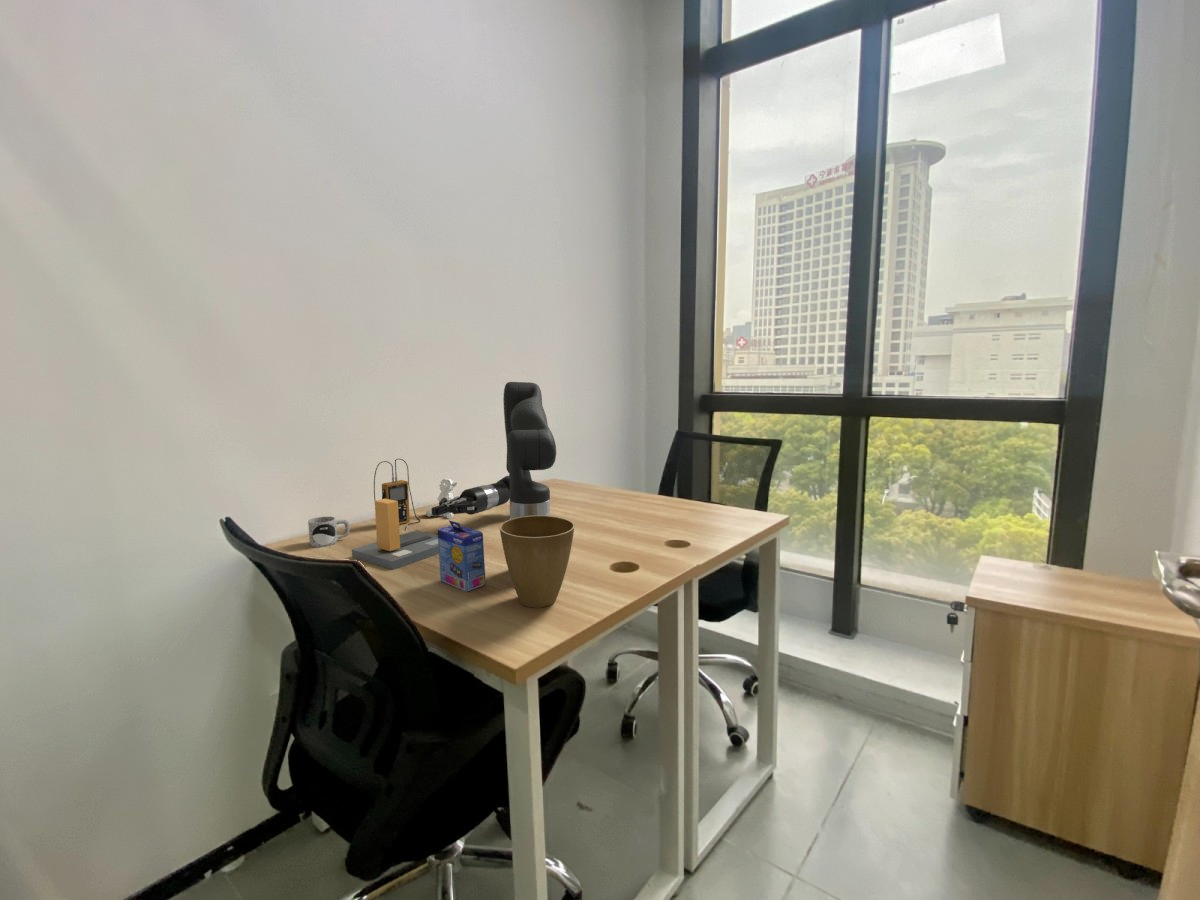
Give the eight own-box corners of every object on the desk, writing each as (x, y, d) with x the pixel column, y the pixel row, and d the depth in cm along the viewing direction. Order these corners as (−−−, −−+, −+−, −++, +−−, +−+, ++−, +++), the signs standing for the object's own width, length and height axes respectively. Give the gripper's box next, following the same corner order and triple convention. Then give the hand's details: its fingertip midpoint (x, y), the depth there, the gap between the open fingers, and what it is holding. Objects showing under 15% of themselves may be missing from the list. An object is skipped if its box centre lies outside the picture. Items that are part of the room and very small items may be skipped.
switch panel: (457, 546, 148) (456, 538, 148) (392, 569, 132) (392, 560, 131) (417, 537, 157) (416, 529, 157) (352, 557, 140) (351, 548, 140)
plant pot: (486, 604, 112) (483, 527, 110) (534, 581, 124) (533, 511, 122) (543, 623, 104) (542, 540, 102) (589, 596, 116) (589, 522, 114)
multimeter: (391, 535, 159) (387, 465, 156) (372, 529, 165) (368, 462, 162) (435, 523, 170) (432, 459, 167) (415, 518, 176) (412, 455, 173)
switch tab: (400, 547, 140) (397, 501, 138) (390, 551, 137) (387, 503, 135) (387, 544, 142) (385, 498, 141) (377, 547, 140) (374, 500, 138)
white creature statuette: (425, 516, 178) (423, 480, 176) (440, 510, 186) (439, 475, 185) (450, 519, 175) (449, 482, 173) (465, 512, 183) (464, 476, 182)
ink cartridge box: (438, 581, 124) (435, 518, 122) (458, 574, 129) (456, 513, 126) (465, 593, 118) (463, 526, 116) (486, 585, 122) (484, 521, 120)
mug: (312, 549, 147) (310, 524, 146) (307, 542, 152) (306, 519, 151) (352, 542, 152) (351, 518, 152) (347, 536, 158) (345, 513, 157)
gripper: (463, 484, 168) (416, 495, 154) (495, 489, 161) (450, 501, 147) (464, 508, 169) (417, 521, 155) (496, 514, 162) (451, 529, 148)
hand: (433, 511), depth 151 cm, fingers closed
